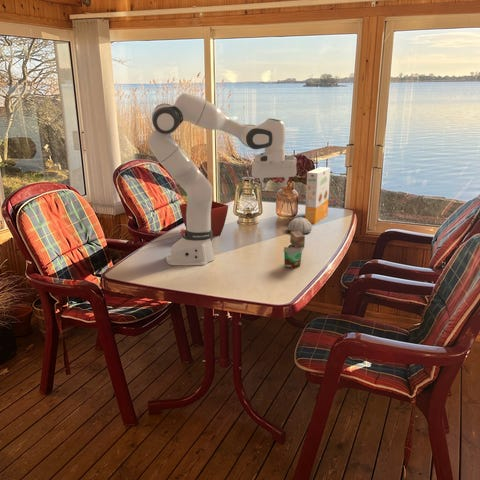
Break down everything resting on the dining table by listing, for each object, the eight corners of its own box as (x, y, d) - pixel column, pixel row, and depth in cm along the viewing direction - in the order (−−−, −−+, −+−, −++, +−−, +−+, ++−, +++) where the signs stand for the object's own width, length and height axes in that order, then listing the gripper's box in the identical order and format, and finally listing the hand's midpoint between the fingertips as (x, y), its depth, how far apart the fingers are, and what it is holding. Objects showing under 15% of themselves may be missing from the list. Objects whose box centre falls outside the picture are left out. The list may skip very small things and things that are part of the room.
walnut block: (295, 247, 205) (295, 236, 204) (290, 242, 213) (290, 231, 211) (304, 247, 206) (304, 236, 204) (298, 241, 213) (299, 231, 212)
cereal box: (317, 214, 300) (320, 167, 291) (327, 215, 297) (330, 167, 288) (304, 222, 281) (307, 172, 272) (314, 224, 278) (317, 173, 269)
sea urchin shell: (305, 227, 272) (305, 214, 270) (316, 234, 260) (317, 219, 257) (283, 229, 268) (284, 215, 266) (294, 236, 256) (294, 221, 253)
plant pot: (200, 243, 243) (200, 211, 238) (179, 234, 257) (178, 204, 252) (229, 236, 255) (229, 205, 250) (207, 228, 269) (207, 199, 264)
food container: (295, 271, 206) (296, 249, 203) (283, 268, 209) (283, 247, 206) (307, 263, 216) (308, 242, 213) (295, 260, 219) (296, 240, 216)
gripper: (294, 154, 216) (293, 184, 220) (250, 156, 211) (250, 186, 215) (299, 156, 210) (298, 187, 214) (254, 157, 205) (254, 189, 209)
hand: (273, 187), depth 215 cm, fingers open, 8 cm apart
